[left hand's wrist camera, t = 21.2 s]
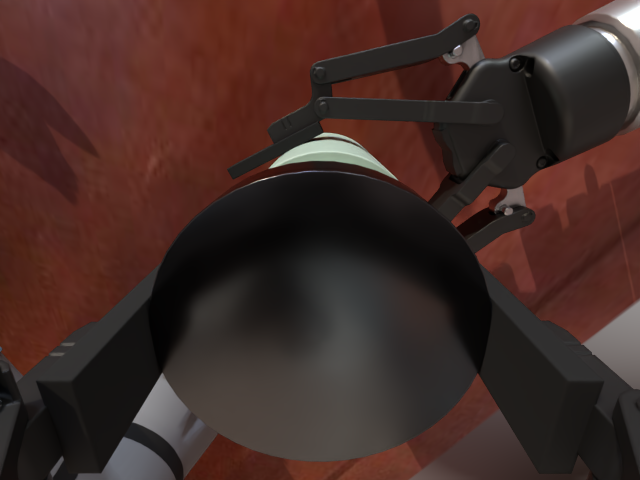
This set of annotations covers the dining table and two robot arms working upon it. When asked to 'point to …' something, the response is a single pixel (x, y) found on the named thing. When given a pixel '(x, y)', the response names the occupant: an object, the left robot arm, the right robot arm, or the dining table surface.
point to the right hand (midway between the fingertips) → (271, 234)
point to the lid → (320, 313)
